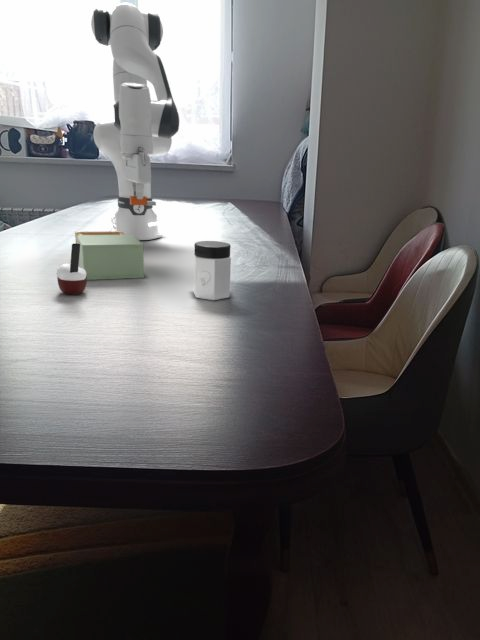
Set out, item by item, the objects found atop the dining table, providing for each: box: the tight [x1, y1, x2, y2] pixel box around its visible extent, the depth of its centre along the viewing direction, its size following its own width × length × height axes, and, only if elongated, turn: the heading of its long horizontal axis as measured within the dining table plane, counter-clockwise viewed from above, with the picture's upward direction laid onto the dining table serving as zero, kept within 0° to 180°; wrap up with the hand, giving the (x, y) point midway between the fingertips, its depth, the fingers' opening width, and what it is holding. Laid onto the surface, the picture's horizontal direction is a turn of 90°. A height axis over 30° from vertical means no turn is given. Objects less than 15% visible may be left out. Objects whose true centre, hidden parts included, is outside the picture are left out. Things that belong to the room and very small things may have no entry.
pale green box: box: [76, 235, 145, 281], centre depth 134 cm, size 15×15×9 cm
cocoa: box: [56, 243, 88, 296], centre depth 113 cm, size 10×6×12 cm, turn 12°
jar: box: [193, 240, 232, 301], centre depth 118 cm, size 9×8×12 cm
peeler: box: [130, 196, 157, 207], centre depth 149 cm, size 7×3×2 cm, turn 114°
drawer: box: [74, 230, 124, 244], centre depth 146 cm, size 18×13×7 cm
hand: (138, 198), depth 149 cm, fingers closed on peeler, 2 cm apart
